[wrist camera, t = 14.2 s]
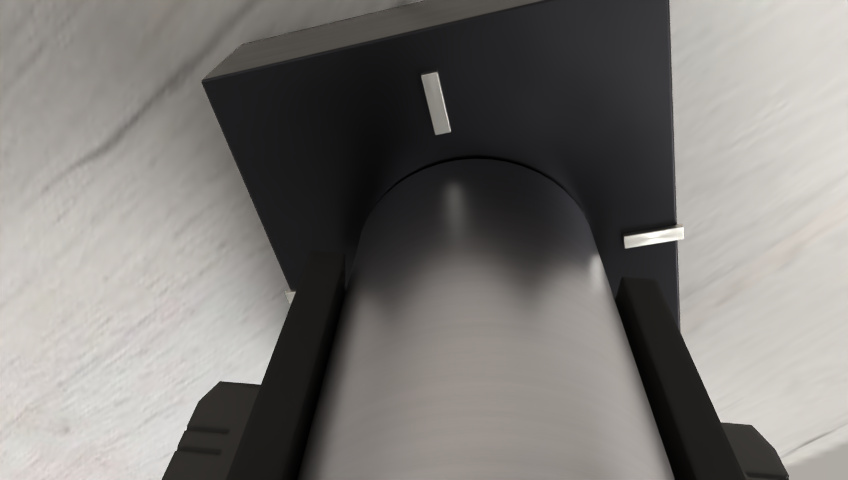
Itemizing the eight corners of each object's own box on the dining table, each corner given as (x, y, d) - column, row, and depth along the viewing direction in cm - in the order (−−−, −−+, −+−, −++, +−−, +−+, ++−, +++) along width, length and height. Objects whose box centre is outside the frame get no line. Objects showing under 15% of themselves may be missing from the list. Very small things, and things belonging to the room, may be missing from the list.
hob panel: (659, 334, 21) (688, 407, 18) (365, 376, 22) (351, 448, 20) (638, -52, 15) (676, -29, 12) (236, 45, 16) (192, 84, 14)
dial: (620, 169, 14) (810, 557, 7) (568, 362, 18) (656, 780, 10) (360, 146, 14) (237, 504, 7) (355, 343, 18) (270, 744, 10)
